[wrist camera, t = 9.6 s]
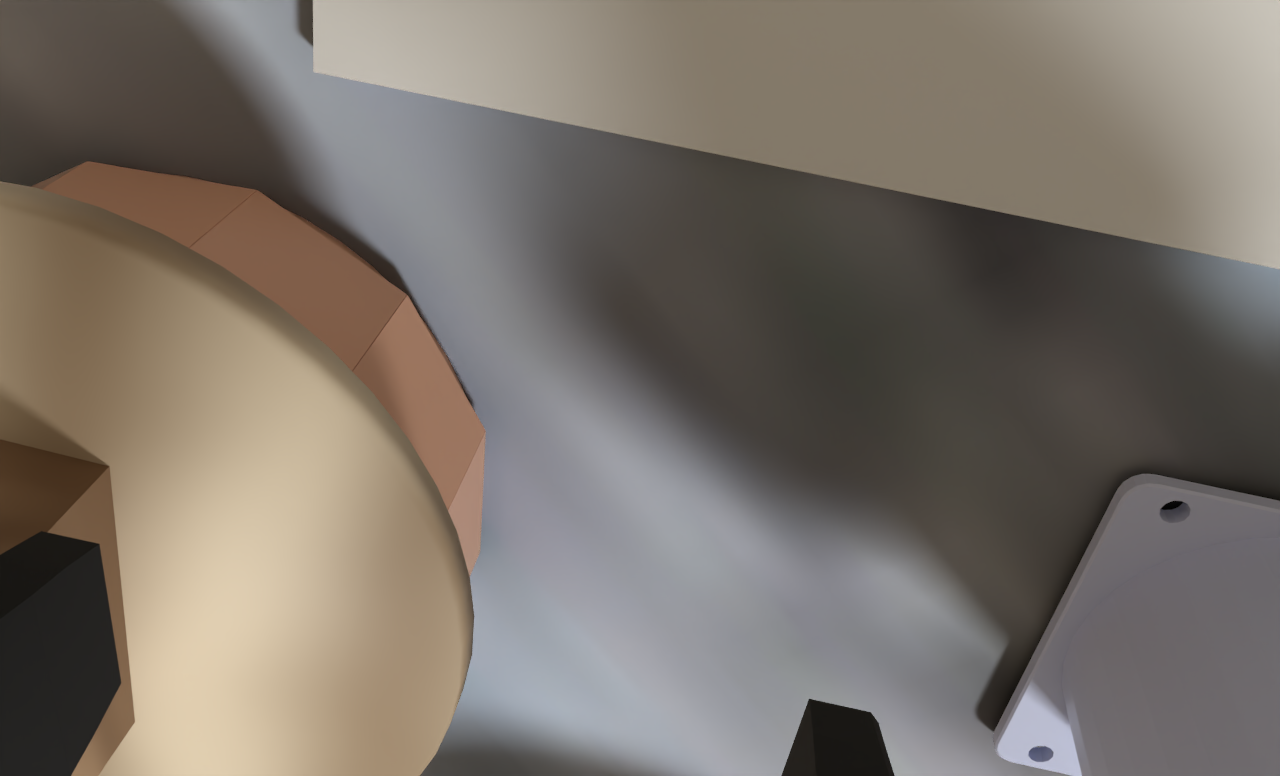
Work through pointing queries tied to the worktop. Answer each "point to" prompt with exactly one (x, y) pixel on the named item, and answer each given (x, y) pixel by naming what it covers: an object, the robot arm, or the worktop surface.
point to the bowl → (317, 309)
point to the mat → (889, 94)
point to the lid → (223, 509)
